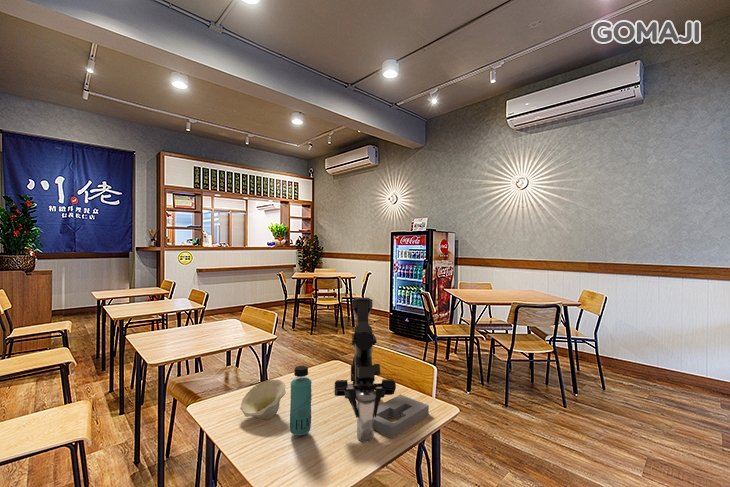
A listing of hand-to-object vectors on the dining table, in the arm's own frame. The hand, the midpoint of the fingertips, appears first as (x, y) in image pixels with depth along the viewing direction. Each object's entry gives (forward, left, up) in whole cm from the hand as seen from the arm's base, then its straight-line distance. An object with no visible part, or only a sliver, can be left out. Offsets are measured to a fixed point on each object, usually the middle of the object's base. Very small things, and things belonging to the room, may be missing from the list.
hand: (366, 417), depth 97 cm
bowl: (-36, +5, -7) cm, 37 cm away
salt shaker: (0, +1, -7) cm, 7 cm away
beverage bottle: (-20, -2, -7) cm, 21 cm away
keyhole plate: (+7, +14, -7) cm, 17 cm away
